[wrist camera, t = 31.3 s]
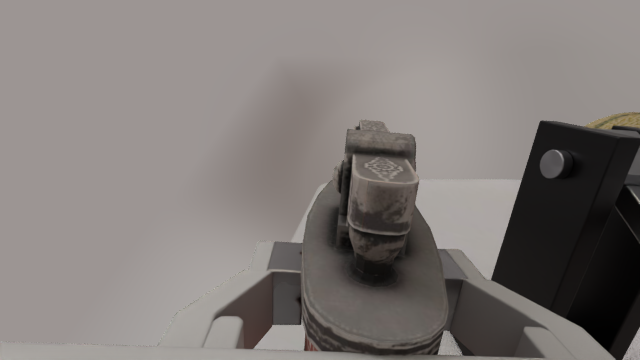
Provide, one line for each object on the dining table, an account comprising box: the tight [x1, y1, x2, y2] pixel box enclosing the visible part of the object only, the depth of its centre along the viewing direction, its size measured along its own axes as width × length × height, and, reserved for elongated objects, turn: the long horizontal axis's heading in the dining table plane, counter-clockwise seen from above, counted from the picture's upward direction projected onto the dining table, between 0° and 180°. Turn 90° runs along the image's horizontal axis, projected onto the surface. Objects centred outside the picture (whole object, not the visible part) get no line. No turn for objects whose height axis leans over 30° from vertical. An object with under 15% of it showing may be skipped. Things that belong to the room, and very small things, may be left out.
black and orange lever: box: [454, 121, 640, 360], centre depth 16 cm, size 10×8×15 cm
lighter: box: [301, 120, 448, 356], centre depth 9 cm, size 8×3×10 cm, turn 174°
